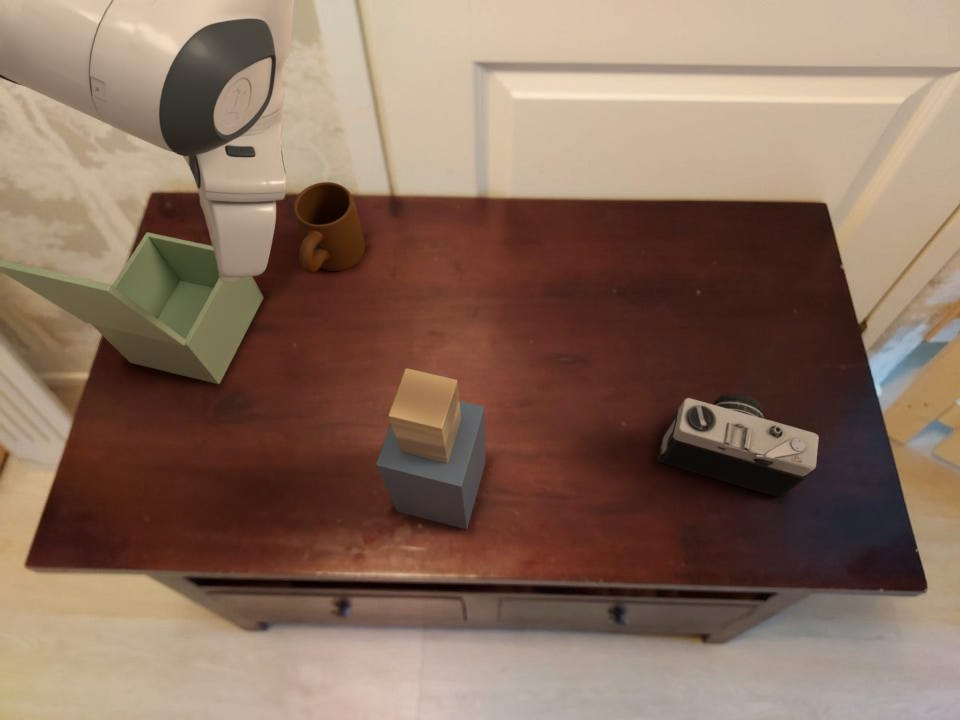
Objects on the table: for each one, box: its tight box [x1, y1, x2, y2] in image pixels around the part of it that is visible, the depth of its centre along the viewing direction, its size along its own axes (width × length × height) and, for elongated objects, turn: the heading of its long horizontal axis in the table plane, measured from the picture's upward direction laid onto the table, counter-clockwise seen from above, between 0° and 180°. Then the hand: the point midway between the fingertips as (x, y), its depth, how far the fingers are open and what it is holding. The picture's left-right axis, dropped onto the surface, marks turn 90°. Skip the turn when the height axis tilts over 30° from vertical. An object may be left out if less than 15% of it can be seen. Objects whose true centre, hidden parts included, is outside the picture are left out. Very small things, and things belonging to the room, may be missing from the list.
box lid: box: [0, 258, 186, 346], centre depth 65 cm, size 14×12×1 cm
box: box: [90, 232, 264, 385], centre depth 79 cm, size 13×12×10 cm
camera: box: [657, 393, 820, 499], centre depth 70 cm, size 14×9×10 cm, turn 64°
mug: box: [293, 181, 366, 273], centre depth 84 cm, size 12×8×9 cm, turn 167°
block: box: [388, 367, 461, 463], centre depth 56 cm, size 4×4×8 cm
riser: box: [375, 400, 487, 531], centre depth 66 cm, size 8×8×15 cm
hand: (219, 241), depth 64 cm, fingers open, 8 cm apart
